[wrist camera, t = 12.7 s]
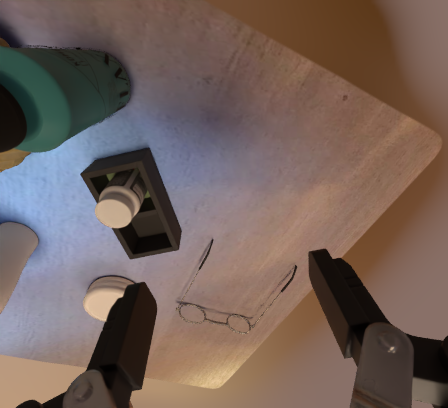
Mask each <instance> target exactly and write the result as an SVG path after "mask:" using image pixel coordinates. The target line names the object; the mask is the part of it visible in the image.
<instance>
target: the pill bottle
mask: <svg viewBox="0 0 448 408" xmlns="http://www.w3.org/2000/svg"><path fill="white" fill-rule="evenodd" d="M147 191H148V190H147V188H146V185H145V183H144V181H143V178H142V176H141V174H140V171H139V169H137V168H134V169H129V170H125V171H120V172H117V173H116V174H115V175H114V177H113V178H112V179H111V181H110V182H109V183H108V185H107V186H106V187H105V188H104V190H103V191H102V193H101V194H100V197H99V202H98V204H97V205H96V207H95V214H96V217H97V218H98V220H99V221H100V222H101V223H103V224H104V225H106V226H108V227H111V228H122V227H125V226H127V225H128V224H129V223H130V221H131V220H132V218H133V217H134V216H135V215H136V214H137V213H138V211H139V209H140V207H141V204H142V202H143V200H144V197H145V195H146V193H147Z"/></svg>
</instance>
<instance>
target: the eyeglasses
mask: <svg viewBox="0 0 448 408" xmlns="http://www.w3.org/2000/svg"><path fill="white" fill-rule="evenodd" d="M212 243H213V240H212V242H211V245H210V248H209V250H208V253H207V255H206V256H205V258H204V260H203V262H202V264H201V266H200V267H199V270H200V269H201V267H202V266H203V264H204V262H205V260H206V258H207V257H208V255H209V252H210V249H211V246H212ZM296 269H297V266H295V269H294V272H293V275H292V277H291V279H290V280H289V282H288V283H287V284H286V285H285V286H284V288H283V289H282V290H281V292H283V291H284V290H285V289H286V287H287V286H288V285H289V284H290V282H291V281H292V280H293V278H294V275H295V272H296ZM199 270H198V272H199ZM198 272H197V273H198ZM196 275H197V274H196ZM195 277H196V276H195ZM195 277H194V279H195ZM194 279H193V281H194ZM193 281H192V283H193ZM192 283H191V284H192ZM190 286H191V285H190ZM190 286H189V288H190ZM189 288H188V290H189ZM188 290H187V292H188ZM187 292H186V293H187ZM281 292H280V294H281ZM280 294H279V295H280ZM185 295H186V294H185ZM279 295H278V296H279ZM278 296H277V297H278ZM184 297H185V296H184ZM184 297H183V299H184ZM277 297H276V298H277ZM276 298H275V300H276ZM183 299H182V301H183ZM275 300H274V301H275ZM182 301H181V302H182ZM274 301H273V302H274ZM273 302H272V303H273ZM272 303H271V304H272ZM180 304H181V303H180ZM186 305H189V306H194V307H197V308H199V309H200V310H201V311H202V312H203V313H204V316H205V318H204V320H203V321H202V322H204V321H207V322H210V323H213V324H218V325H225V326H228V327H229V328H230V329H231V330H232V331H234V332H237V333H241V334H246V333H249V331H250V330H251V327H252V328H254V325H255V324H256V323H257V322H256V323H255V324H254V325H252V326H251V325H250V323H249V321H248V320H247V319H246V318H244V317H242V316H239V315H230V316H229V317H231V316H238V317H241V318H243V319H244V320H246V321H247V322H248V324H249V328H250V329H249V331H248V332H239V331H236V330H234V329H232V328H231V327H230V326H229V323H228V318H229V317H228V318H227V323H223V322H216V321H213V320H209V319H206V314H205V312H204V310H203V309H202V308H200V307H198V306H196V305H193V304H184V305H182V306H186ZM179 306H180V305H179ZM179 306H178V308H179ZM182 306H181V307H182ZM270 306H271V305H270ZM270 306H269V307H270ZM181 307H180V309H181ZM269 307H268V308H269ZM178 308H176V311H179V315H180V317H181V318H182V319H183V320H185V321H187V322H190V323H195V324H200V323H202V322H193V321H189V320H186V319H185V318H184V317H182V315H181V313H180V309H178ZM268 308H267V309H268ZM267 309H266V310H267ZM265 312H266V311H265ZM265 312H264V313H265ZM264 313H263V314H264ZM263 314H262V315H263ZM262 315H261V316H262ZM260 318H261V317H260ZM260 318H259V319H260ZM259 319H258V320H259ZM258 320H257V321H258Z"/></svg>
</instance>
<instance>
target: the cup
mask: <svg viewBox="0 0 448 408" xmlns="http://www.w3.org/2000/svg"><path fill="white" fill-rule="evenodd" d="M37 245H38V238H37V236H36V234H35V233H34V232H33V231H32V230H31V229H30V228H28V227H26V226H24V225H22V224H19V223H15V222H6V223H2V224H0V314H1V312H2V311H3V309H4V308H5V306H6V304H7V302H8V300H9V298H10V296H11V295H12V293H13V291H14V289H15V287H16V285H17V282H18V280H19V277H20V275H21V273H22V271H23V269H24V267H25V265H26V263H27V261H28V259H29V257H30V256H31V254H32V253H33V251H34V250H35V249H36V247H37Z"/></svg>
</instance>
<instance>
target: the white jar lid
mask: <svg viewBox="0 0 448 408" xmlns="http://www.w3.org/2000/svg"><path fill="white" fill-rule="evenodd" d="M130 284H134V283H133V282H131V281H129V280H127V279H124V278H121V277H103V278H100V279H98V280H96V281H94V282H93V283H92V284H91V286H90V287H89V290H88V291H87V293H86V295H85V297H84V299H83V306H84V309H85V310H86V311H87V313H88V314H90V315H91V316H92V317H94V318H96V319H98V320H101V321H105V322H106V319H107V316H108V313H109V311H110V308H111V307H112V306H113V304H114V303H115V302H116V300H117V299H118V298H121V297H123V295H124V292H125V289H126V287H127V286H128V285H130Z"/></svg>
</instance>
